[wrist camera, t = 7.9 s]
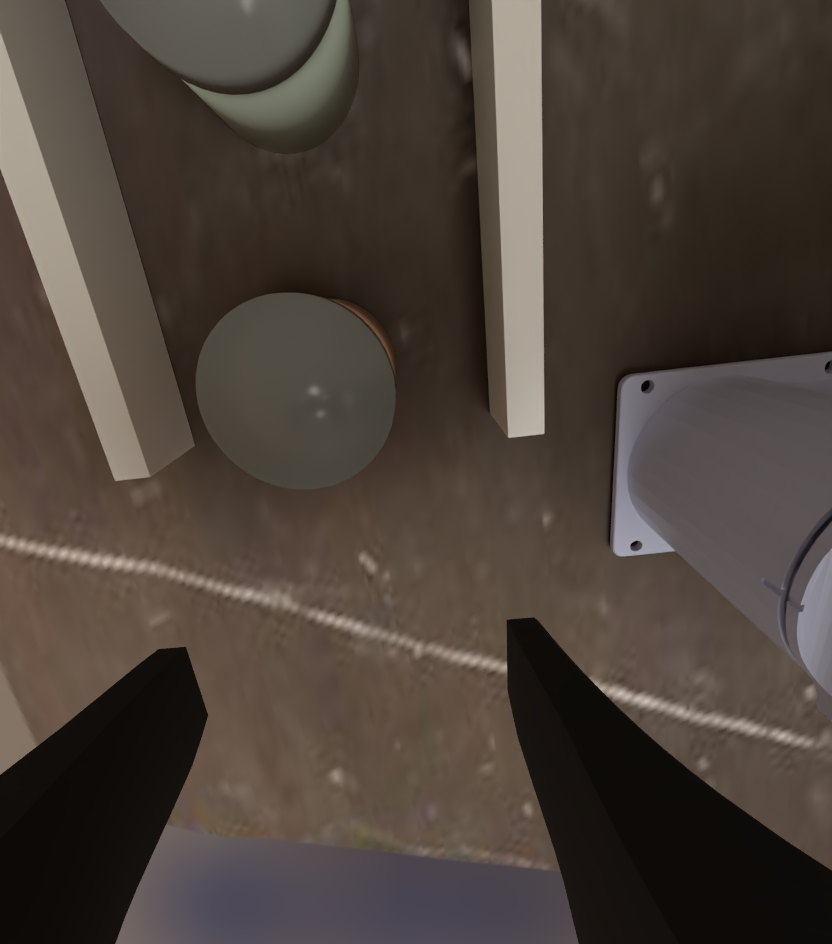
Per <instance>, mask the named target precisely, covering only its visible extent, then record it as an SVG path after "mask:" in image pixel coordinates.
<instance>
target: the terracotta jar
mask: <svg viewBox="0 0 832 944" xmlns="http://www.w3.org/2000/svg"><path fill="white" fill-rule="evenodd" d="M395 378H396V358H395V353H394V349H393V345H392V343H391V341H390V338H389V336H388V334H387V333H386V331H385V329H384V328H383V327H382V325H381V324H380V323H379V322H378V321H377V319H376V318H375V317H374V316H373V315H371V314H370V313H369V312H368V311H366V310H365V309H363V308H361V307H360V306H358V305H356V304H354V303H351V302H349V301H345V300H342V299H336V298H324V297H321V296H317V295H311V294H305V293H274V294H267V295H263V296H260V297H256V298H253V299H251V300H249V301H247V302H244V303H242V304H240V305H239V306H237V307H236V308H234V309H233V310H231V311H230V312H229V313H227V314H226V315H225V316H224V317H223V318H222V319H221V320H220V321H219V322H218V323H217V324H216V326H215V327H214V328H213V329H212V331H211V332H210V334H209V336H208V337H207V339H206V341H205V343H204V345H203V348H202V350H201V352H200V356H199V360H198V364H197V370H196V395H197V402H198V406H199V410H200V413H201V416H202V419H203V421H204V424H205V426H206V428H207V430H208V432H209V434H210V435H211V437H212V439H213V440H214V442H215V443H216V444H217V446H218V447H219V448H220V450H221V451H222V452H223V453H224V454H225V455H226V456H227V457H228V458H229V459H230V460H231V461H232V462H233V463H234V464H236V465H237V466H238V467H239V468H241V469H242V470H244V471H245V472H247V473H248V474H250V475H251V476H253V477H255V478H257V479H259V480H261V481H264V482H266V483H269V484H272V485H275V486H279V487H283V488H289V489H297V490H311V489H319V488H325V487H329V486H333V485H336V484H338V483H341V482H343V481H345V480H347V479H349V478H351V477H353V476H355V475H356V474H357V473H359V472H360V471H361V470H363V469H364V468H365V467H366V466H367V465H368V464H369V463H370V462H371V461H372V460H373V459H374V458H375V457H376V455H377V454H378V453H379V452H380V450H381V448H382V447H383V445H384V443H385V442H386V439H387V437H388V435H389V432H390V430H391V426H392V422H393V419H394V412H395V404H396V382H395Z"/></svg>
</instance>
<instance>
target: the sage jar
mask: <svg viewBox="0 0 832 944" xmlns="http://www.w3.org/2000/svg"><path fill="white" fill-rule="evenodd" d="M100 1H101V3H102V4H103V6H104V7H105V9H106V10H107V11H108V12H109V13H110V15H111V16H112V17H113V18H114V19H115V21H116V22H117V23H118V24H119V25H120V26H121V27H122V28H123V29H124V30H125V31H126V32H127V33H128V34H129V35H130V36H131V37H132V38H133V39H134V40H135V41H136V42H137V43H138V44H139V45H140V46H141V47H142V48H144V49H145V50H146V51H147V52H148V53H149V54H150V55H151V56H152V57H153V58H154V59H155V60H156V61H157V62H158V63H159V64H161V65H162V66H163V67H164V68H166V69H167V70H168V71H170V72H171V73H172V74H174V75H175V76H177V77H179V78H181V79H182V80H183V81H184V82H185V83H186V84H187V85H188V86H189V87H190V88H191V89H192V90H193V91H194V92H195V93H196V94H197V95H198V96H199V97H200V98H201V99H202V100H203V101H204V102H205V103H206V104H207V105H208V106H209V107H210V108H211V109H212V110H213V111H214V112H215V113H216V114H217V115H218V116H219V117H220V118H221V119H222V120H223V121H224V122H226V123H227V124H228V125H229V126H230V127H231V128H232V129H233V130H234V131H235V132H236V133H237V134H238V135H239V136H241V137H242V138H243V139H245V140H246V141H248V142H249V143H251V144H253V145H254V146H257V147H259V148H261V149H264V150H267V151H271V152H274V153H283V154H291V153H299V152H304V151H307V150H310V149H312V148H315V147H316V146H318V145H320V144H322V143H323V142H324V141H326V140H327V139H328V138H330V137H331V136H332V135H333V134H334V133H335V132H336V131H337V129H338V128H339V127H340V125H341V124H342V123H343V121H344V120H345V118H346V116H347V114H348V112H349V110H350V108H351V105H352V103H353V100H354V97H355V93H356V89H357V83H358V76H359V54H358V45H357V39H356V34H355V28H354V23H353V18H352V12H351V7H350V1H349V0H100Z"/></svg>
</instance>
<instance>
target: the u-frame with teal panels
mask: <svg viewBox="0 0 832 944" xmlns="http://www.w3.org/2000/svg"><path fill="white" fill-rule="evenodd" d="M469 17H470V36H471V56H472V75H473V95H474V114H475V134H476V153H477V173H478V193H479V212H480V232H481V251H482V271H483V290H484V310H485V329H486V349H487V369H488V388H489V408H490V414H491V415H492V417H493V418H494V419H495V421H496V422H497V424H498V425H499V426H500V428H501V429H502V430H503V432H504V433H505V434H506V436H507V437H508V438H512V437H521V436H530V435H539V434H544V314H543V188H542V62H541V0H469ZM0 169H1V172H2V175H3V177H4V180H5V183H6V185H7V188H8V191H9V194H10V196H11V199H12V202H13V204H14V207H15V210H16V213H17V215H18V218H19V221H20V223H21V226H22V229H23V232H24V234H25V237H26V240H27V243H28V245H29V248H30V251H31V253H32V256H33V259H34V262H35V264H36V267H37V270H38V272H39V275H40V278H41V281H42V283H43V286H44V289H45V291H46V294H47V297H48V300H49V302H50V305H51V308H52V311H53V313H54V316H55V319H56V321H57V324H58V327H59V330H60V332H61V335H62V338H63V340H64V343H65V346H66V349H67V351H68V354H69V357H70V360H71V362H72V365H73V368H74V370H75V373H76V376H77V379H78V381H79V384H80V387H81V389H82V392H83V395H84V398H85V400H86V403H87V406H88V408H89V411H90V414H91V417H92V419H93V422H94V425H95V428H96V430H97V433H98V436H99V438H100V441H101V444H102V447H103V449H104V452H105V455H106V457H107V460H108V463H109V466H110V468H111V471H112V474H113V476H114V479H115V481H119V480H128V479H137V478H147V477H151V476H153V475H154V474H156V473H157V472H158V471H160V470H161V469H163V468H164V467H165V466H167V465H168V464H170V463H171V462H173V461H174V460H175V459H177V458H178V457H180V456H181V455H183V454H184V453H185V452H187V451H188V450H190V449H191V448H193V447H194V446H195V444H194V440H193V437H192V433H191V430H190V427H189V423H188V420H187V416H186V413H185V409H184V406H183V403H182V399H181V396H180V392H179V389H178V385H177V382H176V379H175V375H174V372H173V368H172V365H171V361H170V358H169V355H168V351H167V348H166V344H165V341H164V338H163V334H162V331H161V327H160V324H159V320H158V317H157V314H156V310H155V307H154V303H153V300H152V296H151V293H150V290H149V286H148V283H147V279H146V276H145V272H144V269H143V266H142V262H141V259H140V255H139V252H138V248H137V245H136V242H135V238H134V235H133V231H132V228H131V225H130V221H129V218H128V214H127V211H126V207H125V204H124V201H123V197H122V194H121V190H120V187H119V183H118V180H117V177H116V173H115V170H114V166H113V163H112V159H111V156H110V153H109V149H108V146H107V142H106V139H105V135H104V132H103V129H102V125H101V122H100V118H99V115H98V112H97V108H96V105H95V101H94V98H93V94H92V91H91V88H90V84H89V81H88V77H87V74H86V70H85V67H84V64H83V60H82V57H81V53H80V50H79V46H78V43H77V40H76V36H75V33H74V29H73V26H72V22H71V19H70V16H69V12H68V9H67V5H66V2H65V0H0Z"/></svg>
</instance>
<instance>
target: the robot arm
mask: <svg viewBox="0 0 832 944" xmlns="http://www.w3.org/2000/svg"><path fill="white" fill-rule="evenodd" d="M829 361H830V365H829V367H828V369H826V370H825V366H826V364H827V363H828V362H829ZM646 380H649V384H650V385H649V388H648V389H647V390H646V391H643V392H642V391H641V385H642V383H643V382H644V381H646ZM634 541H638V542H637V544H636V545H635V546H632V547H630V545H631V543H633V542H634ZM610 547H611V549H612V550H613V552H614V553H615V554H616V555H618V556H633V555H643V554H652V553H662V552H671V551H676V552H677V553H678V554H679V555H680V556H681V557H682V558H684V559H685V560H686V561H687V562H688V563H689V564H690V565H691V566H692V567H693V568H694V569H695V570H696V571H698V572H699V573H700V574H701V575H702V576H703V577H704V578H705V579H706V580H707V581H708V582H709V583H710V584H711V585H713V586H714V587H715V588H716V589H717V590H718V591H719V592H720V593H721V594H722V595H723V596H724V597H725V598H726V599H728V600H729V601H730V602H731V603H732V604H733V605H734V606H735V607H736V608H737V609H738V610H739V611H740V612H741V613H743V614H744V615H745V616H746V617H747V618H748V619H749V620H750V621H751V622H752V623H753V624H754V625H755V626H757V627H758V628H759V629H760V630H761V631H762V632H763V633H764V634H765V635H766V636H767V637H768V638H769V639H770V640H772V641H773V642H774V643H775V644H776V645H777V646H778V647H779V648H780V649H781V650H782V651H783V652H784V653H785V654H787V655H788V656H789V657H790V658H791V659H792V660H793V661H794V662H795V663H796V664H797V665H798V666H799V667H800V668H802V669H803V670H804V671H805V672H806V673H807V674H808V675H809V676H810V678H811V679H812V680H813V682H814V684H815V687H816V691H817V699H816V707H817V708H818V709H819V710H820V711H821V712H822V713H823V714H824V715H825V716H826V717H827V718H828V719H829V720H830V721H831V722H832V351H831V352H822V353H813V354H804V355H795V356H786V357H777V358H768V359H759V360H750V361H741V362H732V363H724V364H715V365H706V366H697V367H688V368H679V369H670V370H661V371H652V372H643V373H634V374H629V375H626V376H625V377H623V378H622V379H621V381H620V382H619V385H618V393H617V413H616V433H615V454H614V474H613V494H612V514H611V535H610ZM507 674H508V694H509V699H510V703H511V708H512V713H513V717H514V722H515V727H516V731H517V736H518V739H519V742H520V746H521V749H522V752H523V755H524V758H525V761H526V764H527V767H528V770H529V774H530V777H531V780H532V783H533V786H534V789H535V792H536V795H537V798H538V801H539V804H540V807H541V810H542V813H543V816H544V820H545V823H546V826H547V829H548V832H549V835H550V838H551V841H552V844H553V847H554V850H555V853H556V857H557V860H558V864H559V867H560V871H561V874H562V877H563V881H564V885H565V889H566V893H567V897H568V901H569V905H570V909H571V913H572V918H573V922H574V926H575V930H576V934H577V938H578V942H579V944H832V871H831V870H830V869H828V868H827V867H825V866H824V865H822V864H821V863H819V862H818V861H816V860H814V859H813V858H811V857H810V856H808V855H807V854H805V853H804V852H802V851H801V850H799V849H798V848H796V847H794V846H793V845H791V844H790V843H789V842H787V841H786V840H784V839H783V838H781V837H780V836H778V835H777V834H775V833H774V832H773V831H771V830H770V829H768V828H767V827H766V826H764V825H763V824H761V823H760V822H759V821H757V820H756V819H754V818H753V817H752V816H750V815H749V814H747V813H746V812H745V811H743V810H742V809H740V808H739V807H738V806H736V805H735V804H733V803H732V802H731V801H729V800H728V799H727V798H725V797H724V796H722V795H721V794H720V793H718V792H717V791H716V790H714V789H713V788H712V787H710V786H709V785H708V784H707V783H705V782H704V781H703V780H701V779H700V778H699V777H698V776H696V775H695V774H694V773H692V772H691V771H690V770H689V769H687V768H686V767H685V766H684V765H683V764H681V763H680V762H679V761H678V760H677V759H675V758H674V757H673V756H672V755H670V754H669V753H668V752H667V751H666V750H664V749H663V748H662V747H661V746H660V745H659V744H657V743H656V742H655V741H654V740H653V739H652V738H651V737H649V736H648V735H647V734H646V733H645V732H644V731H643V730H642V729H641V728H639V727H638V726H637V725H636V724H635V723H634V722H633V721H632V720H631V719H630V718H629V717H628V716H627V715H625V714H624V713H623V712H622V711H621V710H620V709H619V708H618V707H617V706H616V705H615V704H614V703H613V702H612V701H611V700H610V699H609V698H608V697H607V696H606V695H605V694H604V693H603V692H602V691H601V690H600V689H599V688H598V687H597V686H596V685H595V684H594V683H593V682H592V681H591V680H590V679H589V678H588V677H587V676H586V675H585V674H584V673H583V672H582V670H581V669H580V668H579V667H578V666H577V665H576V664H575V663H574V662H573V661H572V660H571V658H570V657H569V656H568V655H567V654H566V653H565V652H564V651H563V650H562V648H561V647H560V646H559V645H558V644H557V643H556V641H555V640H554V639H553V638H552V637H551V636H550V634H549V633H548V632H547V631H546V630H545V628H544V627H543V626H542V625H541V624H540V622H539V621H538V620H536V619H535V618H522V619H510V620H507ZM207 717H208V714H207V711H206V708H205V704H204V701H203V698H202V695H201V692H200V689H199V686H198V683H197V680H196V677H195V674H194V671H193V668H192V665H191V661H190V658H189V655H188V652H187V649H186V647H179V648H167V649H158V650H157V651H156V652H154V653H153V654H152V655H150V656H149V657H148V658H146V659H145V660H144V661H143V662H141V663H140V664H139V665H138V666H136V667H135V668H134V669H133V670H131V671H130V672H129V673H128V674H126V675H125V676H124V677H123V678H122V679H120V680H119V681H118V682H117V683H115V684H114V685H113V686H112V687H111V688H109V689H108V690H107V691H106V692H105V693H103V694H102V695H101V696H100V697H98V698H97V699H96V700H95V701H94V702H92V703H91V704H90V705H89V706H87V707H86V708H85V709H84V710H83V711H81V712H80V713H79V714H78V715H76V716H75V717H74V718H73V719H72V720H70V721H69V722H68V723H67V724H65V725H64V726H63V727H62V728H60V729H59V730H58V731H57V732H55V733H54V734H53V735H51V736H50V737H49V738H48V739H46V740H45V741H44V742H42V743H41V744H40V745H38V746H37V747H36V748H35V749H33V750H32V751H31V752H29V753H28V754H27V755H26V756H24V757H23V758H22V759H20V760H19V761H18V762H16V763H15V764H14V765H13V766H11V767H10V768H9V769H7V770H6V771H5V772H3V773H2V774H1V775H0V944H115V943H116V940H117V937H118V935H119V932H120V929H121V926H122V924H123V921H124V918H125V916H126V913H127V911H128V909H129V906H130V904H131V901H132V899H133V897H134V894H135V892H136V889H137V887H138V885H139V883H140V880H141V878H142V876H143V874H144V871H145V869H146V867H147V865H148V863H149V860H150V858H151V856H152V854H153V852H154V849H155V847H156V845H157V843H158V841H159V839H160V836H161V834H162V832H163V830H164V827H165V825H166V823H167V821H168V819H169V817H170V814H171V812H172V810H173V808H174V805H175V803H176V801H177V799H178V796H179V794H180V792H181V790H182V787H183V785H184V783H185V781H186V778H187V776H188V774H189V772H190V769H191V767H192V765H193V762H194V759H195V756H196V753H197V750H198V747H199V744H200V740H201V737H202V734H203V730H204V727H205V724H206V720H207Z"/></svg>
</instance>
